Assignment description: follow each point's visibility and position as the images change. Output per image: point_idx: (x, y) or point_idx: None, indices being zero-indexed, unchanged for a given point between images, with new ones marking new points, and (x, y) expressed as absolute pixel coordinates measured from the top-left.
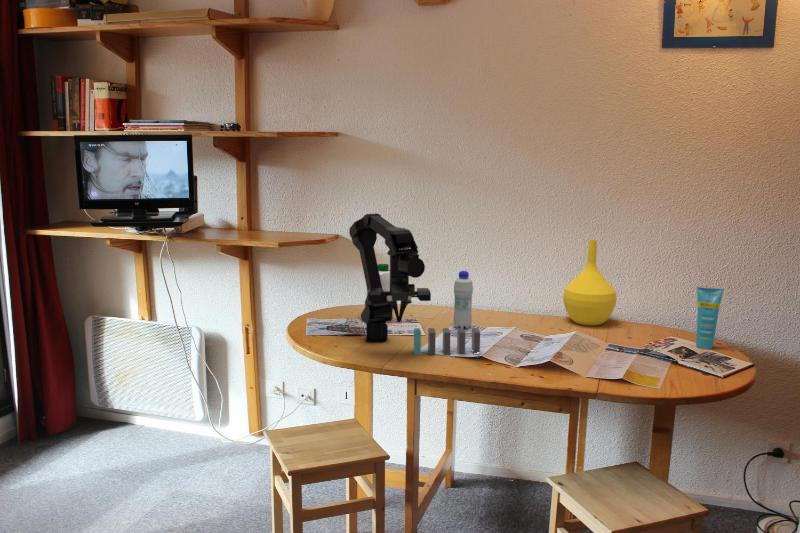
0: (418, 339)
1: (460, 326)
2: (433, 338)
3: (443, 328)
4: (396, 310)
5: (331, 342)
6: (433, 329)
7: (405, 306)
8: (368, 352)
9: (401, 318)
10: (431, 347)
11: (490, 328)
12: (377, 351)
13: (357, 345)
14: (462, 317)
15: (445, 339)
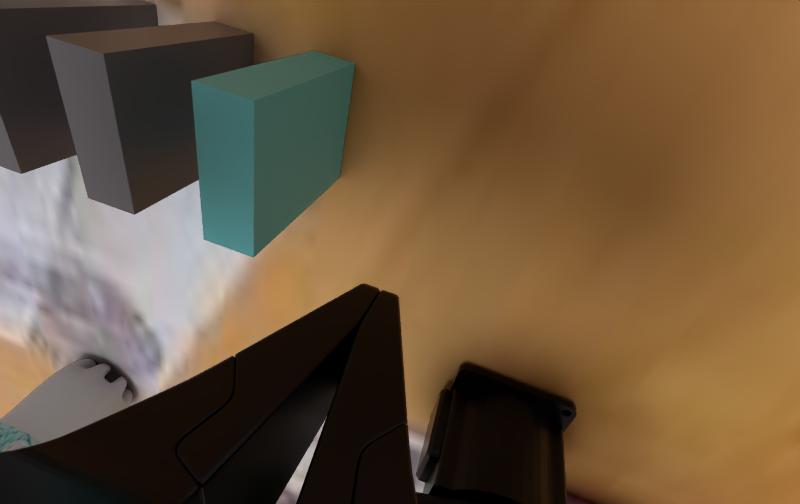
0: (260, 73)
1: (101, 372)
2: (119, 34)
3: (14, 163)
4: (355, 449)
5: (792, 483)
6: (86, 161)
7: (64, 451)
8: (675, 237)
9: (326, 303)
10: (199, 32)
11: (11, 328)
12: (594, 234)
13: (662, 382)
14: (55, 400)
15: (30, 4)
